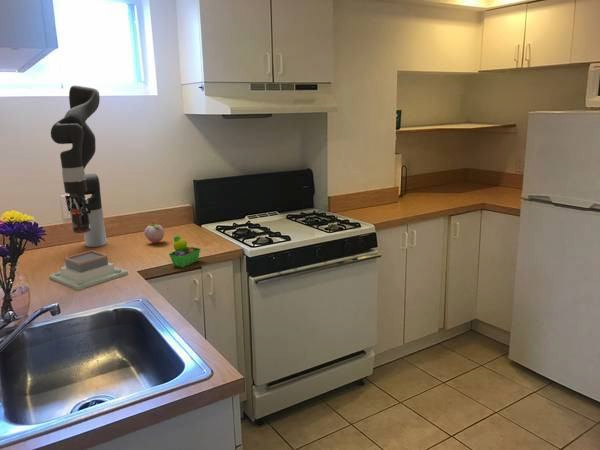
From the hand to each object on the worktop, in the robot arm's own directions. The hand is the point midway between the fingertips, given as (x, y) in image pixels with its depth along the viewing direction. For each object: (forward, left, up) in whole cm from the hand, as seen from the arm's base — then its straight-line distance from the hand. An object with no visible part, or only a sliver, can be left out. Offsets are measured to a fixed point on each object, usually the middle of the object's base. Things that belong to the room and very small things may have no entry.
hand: (81, 223), depth 183 cm
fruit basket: (+19, +31, -21) cm, 42 cm away
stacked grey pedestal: (0, 0, -21) cm, 21 cm away
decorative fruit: (-16, +42, -21) cm, 50 cm away
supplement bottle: (0, 0, -3) cm, 3 cm away
